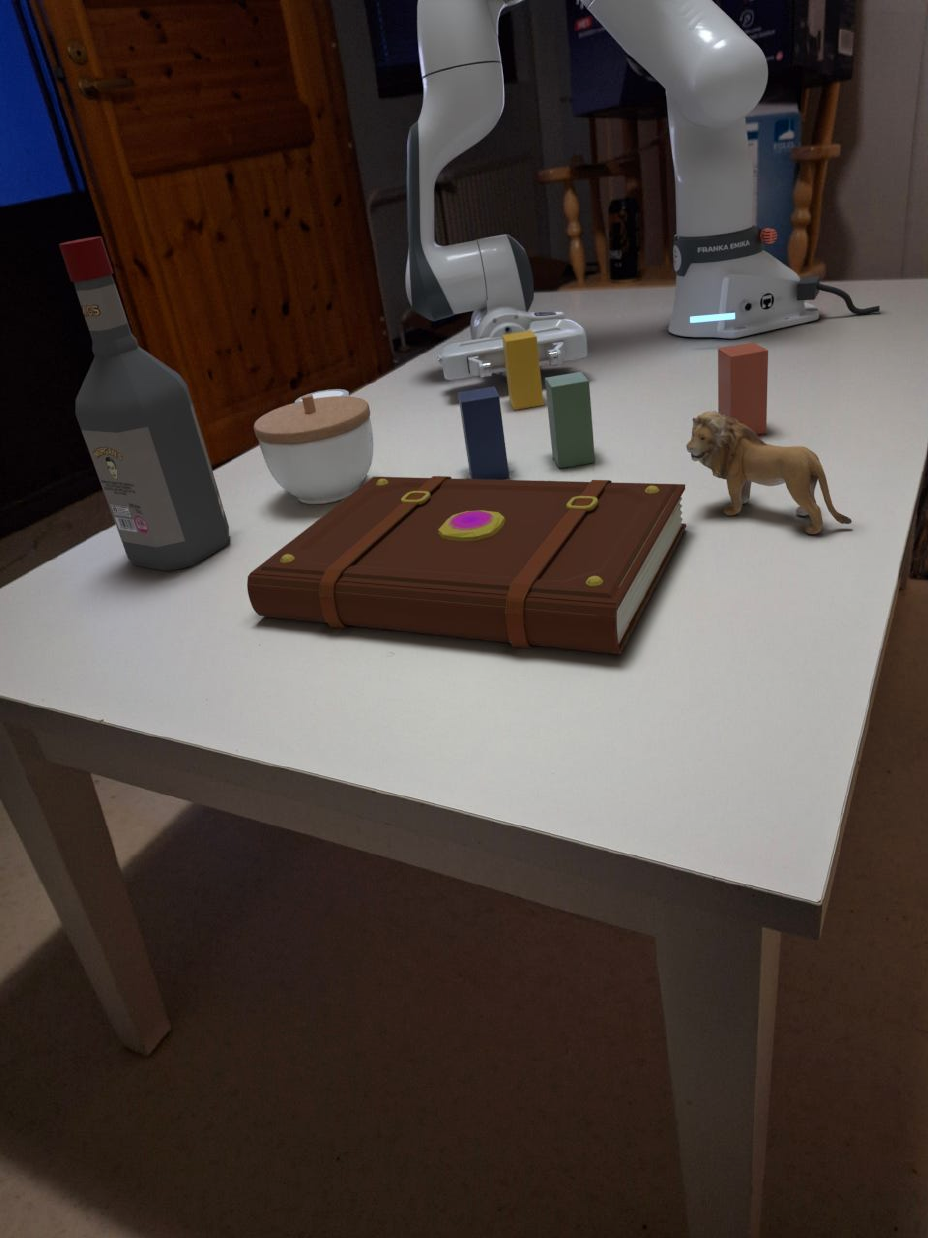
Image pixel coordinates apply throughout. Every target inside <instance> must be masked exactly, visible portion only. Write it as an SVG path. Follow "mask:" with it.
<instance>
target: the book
mask: <svg viewBox="0 0 928 1238" xmlns="http://www.w3.org/2000/svg"><path fill="white" fill-rule="evenodd" d="M685 491H686V483H654V482H653V483H652V482H651V483H649V482H648V483H645V482H612V480H609V479H591V480H590V481H569V480H567V481H565V480H531V479H530V480H527V479H495V480H491V479H472V478H452V476H446V475H432V476H431V477H409V476H407V477H406V476H372V477H371V478H370V479H368V480H367V481H366V482H365V483H363V484H362V485H360V488H358V489H357V490H356V491H355V492H353V493H352V494H351V495H349V496H348V497H347V498H345V499H342V500H341V501H340V502H339V503H338V504H337V505H335V506H334V507H332V508H331V509H330V510H329V511H327V513H325V514H323V515H322V516H321V517H319V518H318V519H317V520H316V521H315V522H313V523H312V524H311V525H310V526H309V527H307V528H306V529H304V530H303V531H302V532H301V533H299V534H298V535H296V536H295V537H294V538H293V539H291V540H290V541H289V542H288V543H287V544H285V545H284V546H283V547H281V548H280V549H278V551H276V552H275V553H274V554H272V555H271V556H270V557H269V558H268V559H266V560H265V561H264V562H262V563H261V564H259V566H257V567H256V568H254V569H253V570H252V571H251V572H249V574H248V575H247V583H246V587H247V588H246V589H247V595H248V599H249V602H250V605H251V607H252V610H253V611H254V612H255V613H256V614H257V615H258V616H260V617H266V618H267V617H269V618H278V619H287V620H294V621H295V620H296V621H305V622H315V623H323V624H327V625H328V626H329V627H331V628H337V629H338V628H339V629H346V628H347V627H349V626H351V627H352V626H353V627H361V628H371V629H381V630H389V631H390V630H391V631H399V632H408V633H417V634H426V635H435V636H436V635H437V636H445V637H453V638H454V637H455V638H463V639H471V640H482V641H490V642H501V643H510V645H511V646H512V647H513V648H521V649H531V648H532V647H533V646H536V647H537V646H539V647H546V648H547V647H548V648H555V649H556V648H557V649H564V650H565V649H568V650H575V651H585V652H594V653H601V654H602V653H604V654H612V655H621V654H622V652H623V650H624V648H625V647H626V645H627V643H628V641H629V639H630V637H631V635H632V634H633V631H634V629H635V628H636V625H637V624H638V621H639V620H640V618H641V615H642V613H643V612H644V609H645V608H646V606H647V604H648V602H649V600H650V598H651V596H652V594H653V592H654V590H655V588H656V587H657V585H658V583H659V581H660V579H661V577H662V575H663V573H664V571H665V569H666V567H667V566H668V563H669V561H670V560H671V557H672V555H673V554H674V552H675V550H676V548H677V545H678V544H679V542H680V540H681V538H682V536H683V534H684V533H685V530H686V529H687V523H682V522H683V517H682V515H683V511H682V510H681V509H682V507H683V505H682V504H681V502H682V500H683V497H682V496H683V494H684V492H685Z"/></svg>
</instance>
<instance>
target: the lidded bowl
mask: <svg viewBox="0 0 928 1238" xmlns="http://www.w3.org/2000/svg"><path fill="white" fill-rule="evenodd" d="M301 397H302V401H300V402H296V403H295V402H293V403H290V404H289V403H288V404H285V405H283V406H280V407H278V408H275V409H273V410H271V411H269V412H267V413H265V414H263V415H262V416H260V417H259V418H258V419H256V420H255V422H254V425H253V430H254V434H255V437H256V439H257V440H258V444H259V447H260V451H261V454H262V457H263V459H264V463H265V464H266V467H267V468H268V470H269V472H270V475H272V477H273V479H274V480H275V481H276V483H277V484H278V485H279V486H280V487H281V488H282V489H283V490H284V491H286V492H288V493H289V494H290V495H292V496H294V497H296V498H297V500H298V501H299V502H300V503H303V504H306V505H324V504H330V503H335V502H339V501H343V500H344V499H346V498H347V497H348V496H349V495H351V494H352V493H353V492H355V491H356V490H357V489H358V488H360V487H361V484H362V482H363V481H364V480H365V478H366V477H367V475H368V473H369V472H370V469H371V467H372V463H373V458H374V445H375V444H374V433H373V426H372V421H371V408H370V405H369V402H368V401H366V400H365V399H364V398H362V397H356V396H350V395H349V396H332V397H322V398H315V399H313V395H307V394H305V395H302V396H301Z"/></svg>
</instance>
